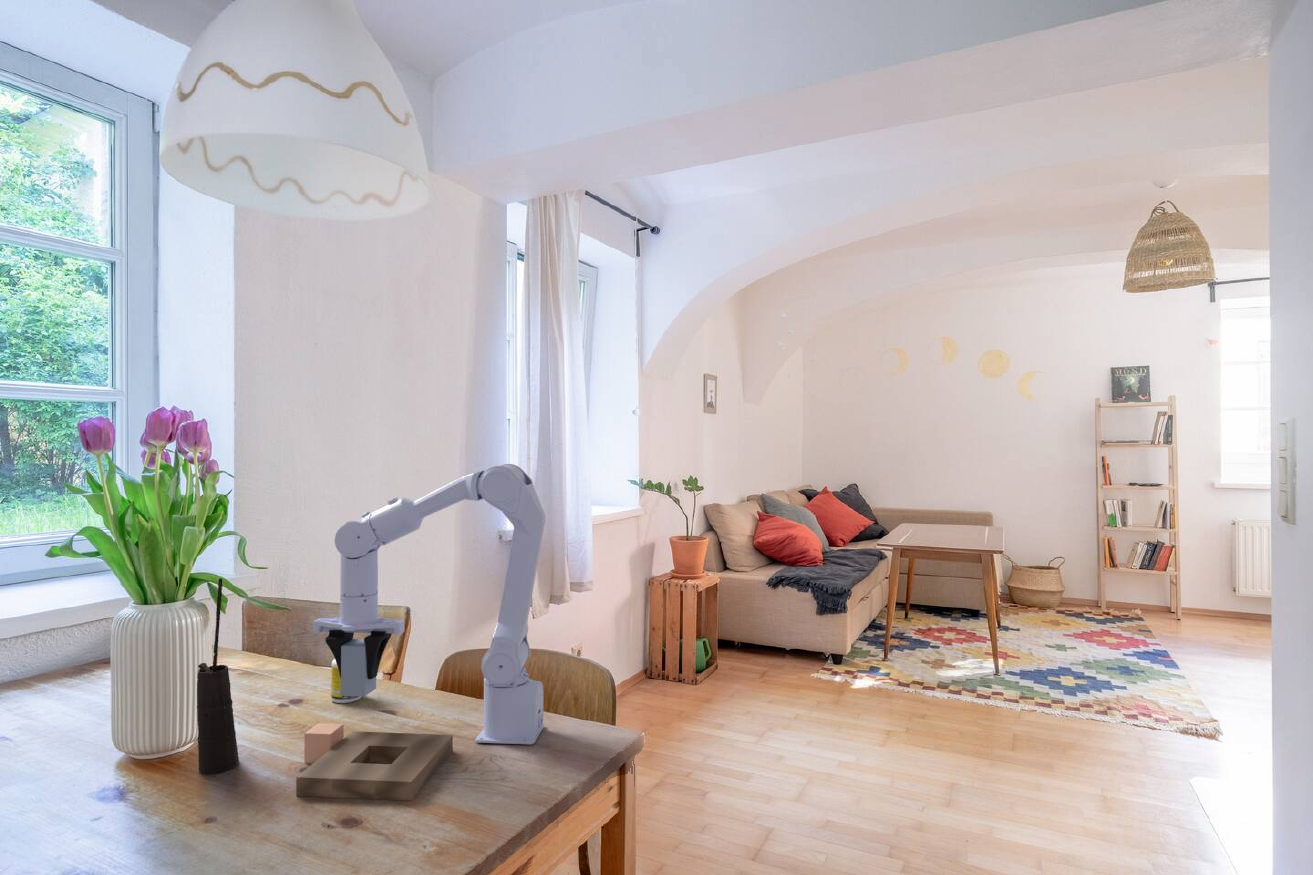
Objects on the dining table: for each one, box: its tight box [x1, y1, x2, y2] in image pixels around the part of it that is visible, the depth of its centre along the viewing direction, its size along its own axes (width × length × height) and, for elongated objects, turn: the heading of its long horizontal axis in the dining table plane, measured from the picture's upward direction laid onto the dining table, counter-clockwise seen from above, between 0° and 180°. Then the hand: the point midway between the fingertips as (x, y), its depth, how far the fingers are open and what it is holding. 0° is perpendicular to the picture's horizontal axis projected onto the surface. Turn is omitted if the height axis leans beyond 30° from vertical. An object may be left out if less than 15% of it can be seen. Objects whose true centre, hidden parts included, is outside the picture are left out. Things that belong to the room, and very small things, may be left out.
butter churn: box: [196, 577, 240, 775], centre depth 111 cm, size 9×10×28 cm
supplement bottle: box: [330, 658, 363, 704], centre depth 140 cm, size 5×5×10 cm
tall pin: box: [341, 638, 377, 697], centre depth 123 cm, size 4×4×8 cm
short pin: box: [303, 722, 345, 764], centre depth 114 cm, size 4×4×4 cm
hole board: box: [295, 730, 454, 801], centre depth 109 cm, size 16×16×2 cm
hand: (358, 676), depth 123 cm, fingers closed on tall pin, 4 cm apart
